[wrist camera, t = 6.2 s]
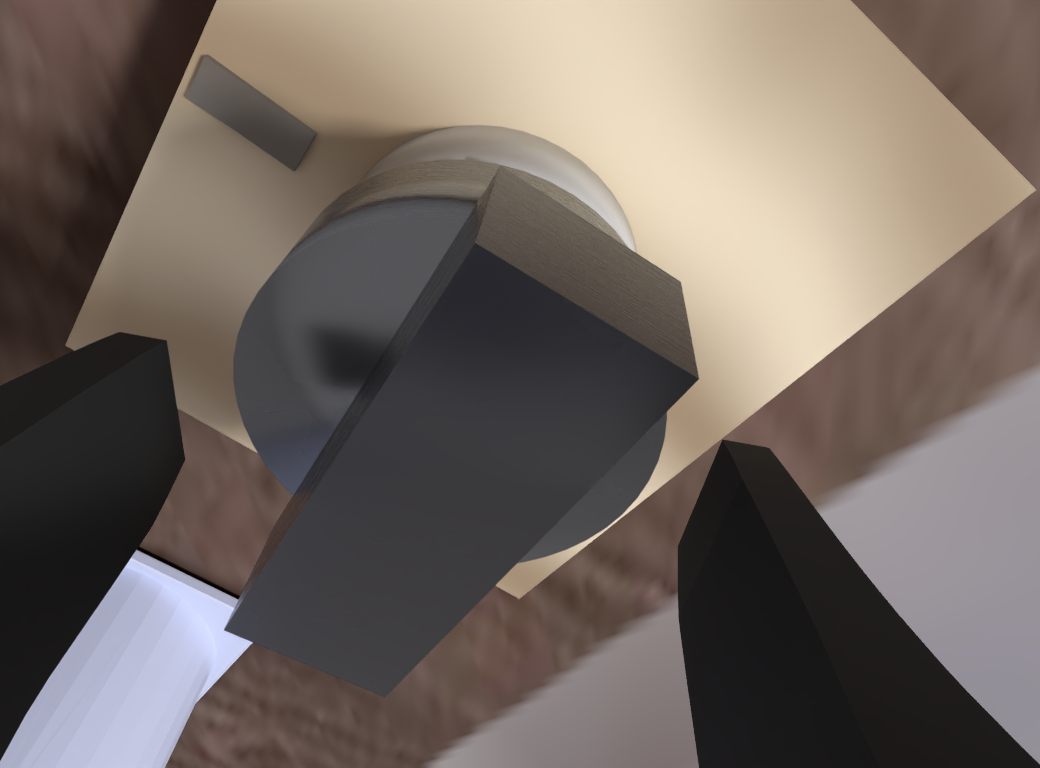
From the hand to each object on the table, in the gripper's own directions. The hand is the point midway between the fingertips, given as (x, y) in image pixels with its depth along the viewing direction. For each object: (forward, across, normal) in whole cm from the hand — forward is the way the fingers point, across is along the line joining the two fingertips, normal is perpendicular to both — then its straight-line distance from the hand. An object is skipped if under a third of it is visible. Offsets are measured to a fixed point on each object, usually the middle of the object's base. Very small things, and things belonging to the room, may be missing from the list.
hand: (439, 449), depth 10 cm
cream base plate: (+7, 0, 0) cm, 7 cm away
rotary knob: (+3, 0, +1) cm, 3 cm away
